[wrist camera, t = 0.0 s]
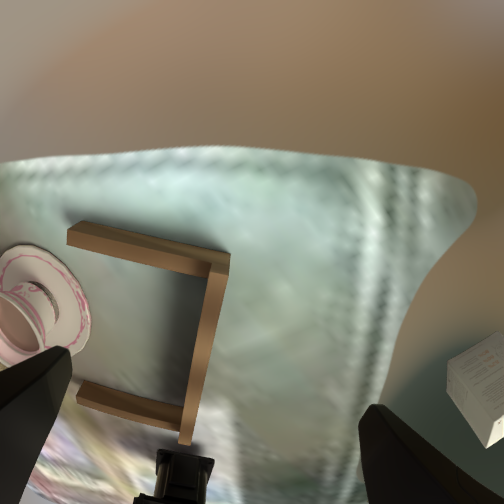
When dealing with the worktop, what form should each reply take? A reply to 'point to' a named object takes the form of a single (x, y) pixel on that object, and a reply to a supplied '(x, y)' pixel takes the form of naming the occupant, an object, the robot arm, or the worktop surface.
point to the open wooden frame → (217, 273)
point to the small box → (480, 387)
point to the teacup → (39, 305)
